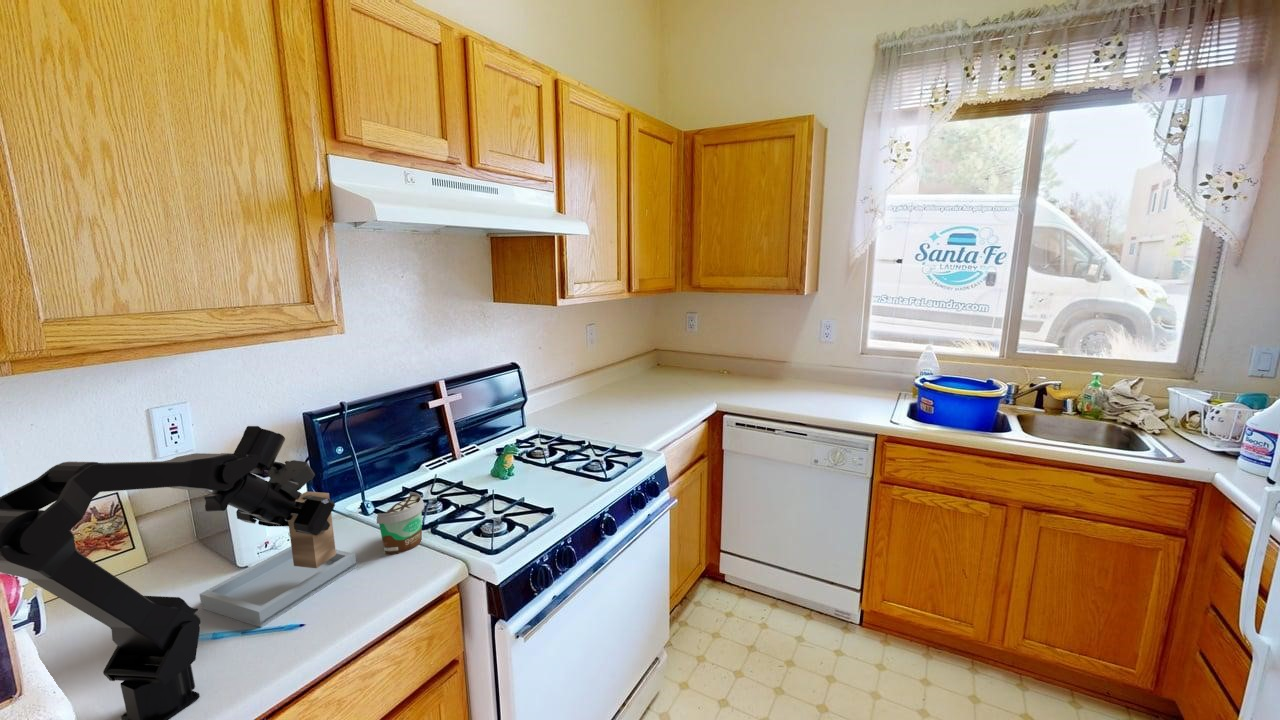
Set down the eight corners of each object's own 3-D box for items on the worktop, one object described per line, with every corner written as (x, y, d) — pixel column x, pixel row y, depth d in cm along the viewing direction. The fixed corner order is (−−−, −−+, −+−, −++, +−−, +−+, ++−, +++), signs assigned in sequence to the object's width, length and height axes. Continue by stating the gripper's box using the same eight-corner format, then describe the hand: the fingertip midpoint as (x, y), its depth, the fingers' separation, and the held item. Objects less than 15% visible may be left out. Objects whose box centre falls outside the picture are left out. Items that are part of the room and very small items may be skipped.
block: (316, 568, 101) (308, 503, 99) (293, 565, 102) (285, 501, 100) (336, 554, 106) (328, 492, 104) (314, 552, 107) (306, 490, 105)
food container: (405, 560, 114) (401, 517, 112) (380, 557, 115) (375, 514, 114) (438, 532, 126) (434, 492, 124) (415, 530, 127) (411, 490, 125)
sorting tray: (261, 627, 94) (258, 611, 93) (202, 608, 99) (199, 593, 99) (356, 566, 112) (355, 553, 111) (302, 553, 117) (300, 541, 117)
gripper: (319, 457, 93) (374, 492, 106) (243, 448, 99) (304, 481, 111) (282, 519, 87) (346, 548, 100) (204, 505, 93) (273, 534, 105)
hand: (317, 525), depth 104 cm, fingers closed on block, 5 cm apart
